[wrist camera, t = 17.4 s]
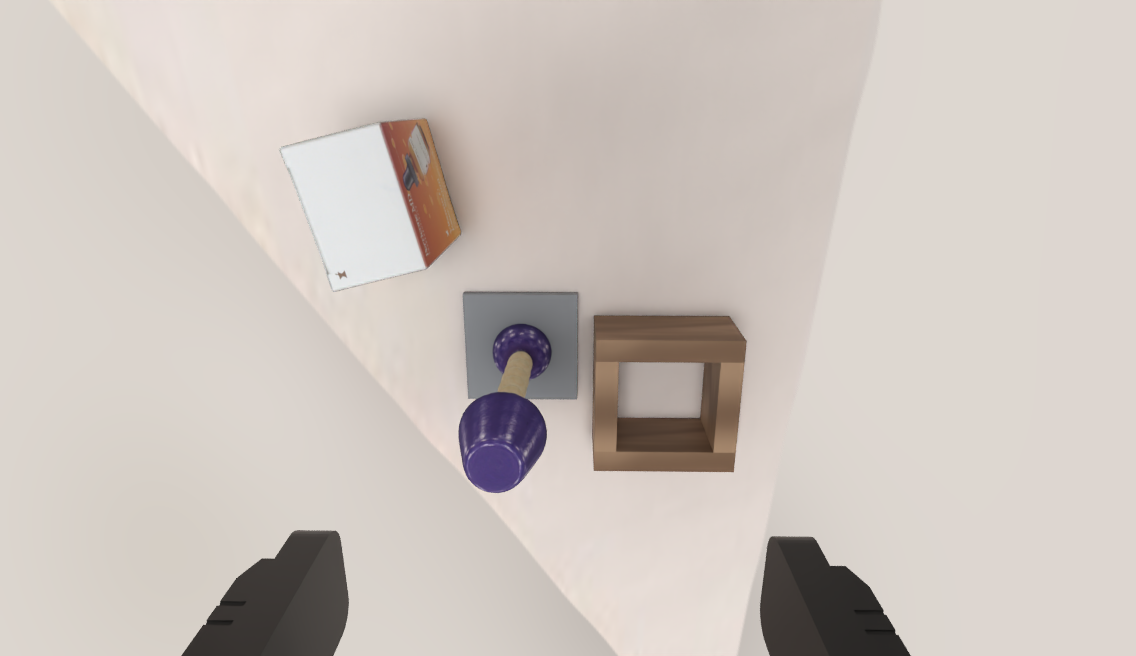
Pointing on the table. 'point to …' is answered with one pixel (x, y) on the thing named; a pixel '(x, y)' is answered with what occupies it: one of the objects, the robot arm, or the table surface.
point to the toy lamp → (507, 414)
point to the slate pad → (532, 308)
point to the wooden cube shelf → (668, 438)
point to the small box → (373, 200)
